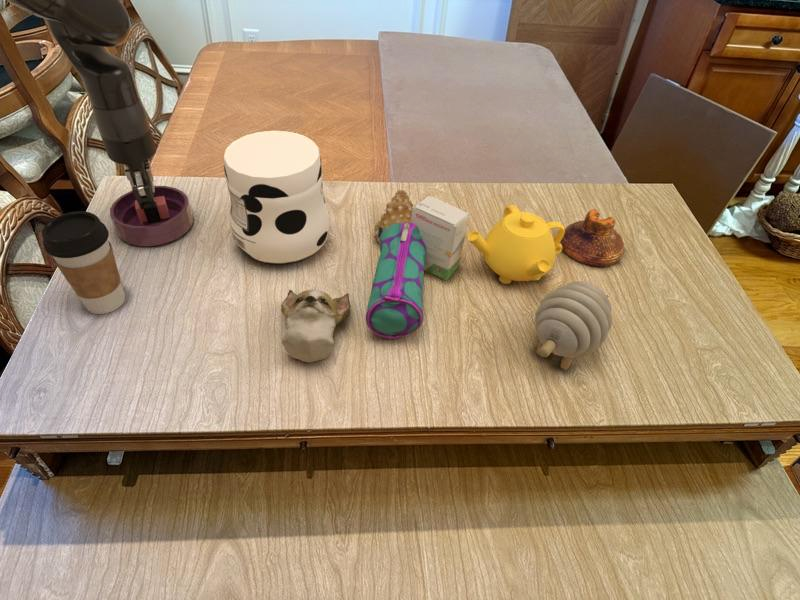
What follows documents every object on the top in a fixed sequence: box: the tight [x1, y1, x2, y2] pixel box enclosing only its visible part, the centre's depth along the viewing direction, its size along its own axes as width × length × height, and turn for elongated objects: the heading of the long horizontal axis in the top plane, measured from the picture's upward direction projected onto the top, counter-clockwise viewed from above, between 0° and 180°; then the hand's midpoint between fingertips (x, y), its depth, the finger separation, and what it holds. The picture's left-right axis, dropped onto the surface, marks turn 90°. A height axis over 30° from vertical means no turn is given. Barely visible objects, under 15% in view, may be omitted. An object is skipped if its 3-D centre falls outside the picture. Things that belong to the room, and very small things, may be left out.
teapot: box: [467, 204, 566, 285], centre depth 92 cm, size 14×14×11 cm
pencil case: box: [365, 222, 426, 340], centre depth 86 cm, size 21×9×10 cm, turn 176°
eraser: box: [135, 196, 169, 222], centre depth 98 cm, size 5×3×3 cm, turn 112°
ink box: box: [411, 195, 471, 282], centre depth 92 cm, size 9×5×12 cm, turn 56°
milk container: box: [223, 130, 331, 265], centre depth 92 cm, size 17×17×18 cm
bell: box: [560, 208, 625, 267], centre depth 99 cm, size 12×12×7 cm
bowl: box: [109, 185, 194, 247], centre depth 98 cm, size 13×13×4 cm
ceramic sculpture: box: [280, 289, 351, 363], centre depth 80 cm, size 11×9×15 cm
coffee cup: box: [41, 210, 126, 315], centre depth 80 cm, size 8×8×15 cm
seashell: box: [374, 189, 414, 243], centre depth 101 cm, size 9×8×10 cm
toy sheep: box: [534, 281, 613, 370], centre depth 79 cm, size 11×17×11 cm, turn 145°
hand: (153, 215), depth 99 cm, fingers closed on eraser, 2 cm apart
